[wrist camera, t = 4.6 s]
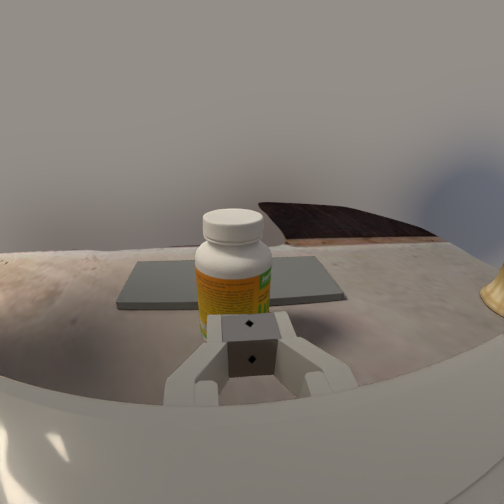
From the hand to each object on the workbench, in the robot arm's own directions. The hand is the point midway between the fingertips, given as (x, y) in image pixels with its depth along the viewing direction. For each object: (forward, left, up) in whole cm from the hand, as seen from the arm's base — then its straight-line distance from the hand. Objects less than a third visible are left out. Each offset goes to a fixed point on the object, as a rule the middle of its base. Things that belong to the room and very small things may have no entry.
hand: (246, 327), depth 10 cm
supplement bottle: (0, +9, -8) cm, 12 cm away
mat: (0, +17, -8) cm, 19 cm away
